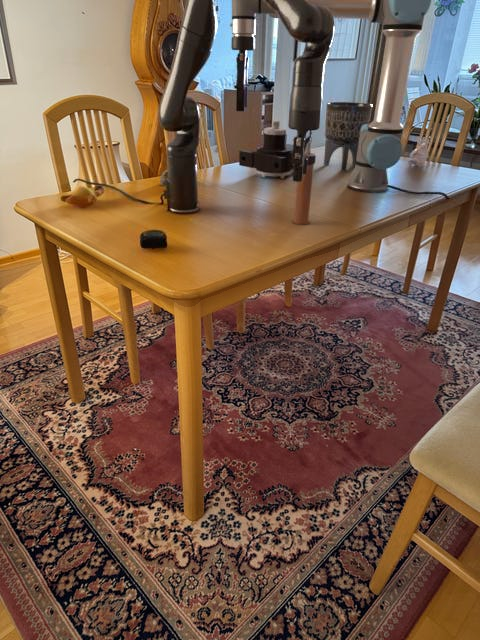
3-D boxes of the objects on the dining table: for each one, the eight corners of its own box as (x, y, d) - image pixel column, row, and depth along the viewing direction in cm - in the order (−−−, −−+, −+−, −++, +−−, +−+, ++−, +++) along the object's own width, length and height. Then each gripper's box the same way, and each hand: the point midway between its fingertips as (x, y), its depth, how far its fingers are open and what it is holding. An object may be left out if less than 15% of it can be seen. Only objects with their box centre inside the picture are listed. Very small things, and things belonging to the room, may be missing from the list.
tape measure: (140, 252, 115) (139, 238, 113) (141, 242, 120) (140, 229, 119) (167, 251, 116) (166, 237, 114) (167, 241, 121) (166, 228, 120)
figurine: (429, 163, 220) (435, 136, 214) (420, 169, 209) (426, 139, 203) (412, 161, 224) (417, 134, 218) (403, 166, 213) (408, 138, 207)
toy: (54, 197, 144) (75, 185, 156) (65, 216, 146) (84, 202, 159) (84, 187, 140) (103, 175, 153) (94, 206, 143) (111, 193, 156)
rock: (185, 178, 183) (185, 162, 179) (198, 183, 177) (198, 166, 174) (157, 184, 175) (156, 166, 172) (169, 189, 170) (168, 171, 166)
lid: (300, 164, 127) (301, 156, 126) (294, 161, 132) (295, 153, 131) (317, 164, 128) (318, 155, 127) (311, 160, 133) (312, 152, 132)
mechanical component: (240, 120, 182) (283, 115, 202) (239, 174, 192) (280, 164, 212) (283, 126, 170) (325, 120, 190) (280, 183, 180) (320, 171, 200)
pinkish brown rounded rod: (296, 224, 137) (302, 157, 127) (291, 220, 140) (296, 154, 131) (310, 224, 138) (316, 157, 128) (305, 219, 141) (311, 154, 131)
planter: (313, 167, 208) (319, 103, 195) (331, 160, 222) (338, 101, 209) (353, 173, 199) (362, 107, 185) (369, 166, 213) (379, 104, 199)
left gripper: (294, 104, 114) (289, 170, 122) (284, 109, 102) (280, 182, 110) (324, 105, 112) (317, 172, 120) (317, 110, 100) (310, 185, 108)
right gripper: (234, 37, 155) (234, 105, 166) (227, 34, 134) (227, 112, 144) (256, 37, 155) (254, 106, 165) (253, 34, 133) (250, 113, 144)
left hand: (299, 177), depth 115 cm, fingers open, 8 cm apart
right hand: (241, 109), depth 155 cm, fingers open, 13 cm apart
